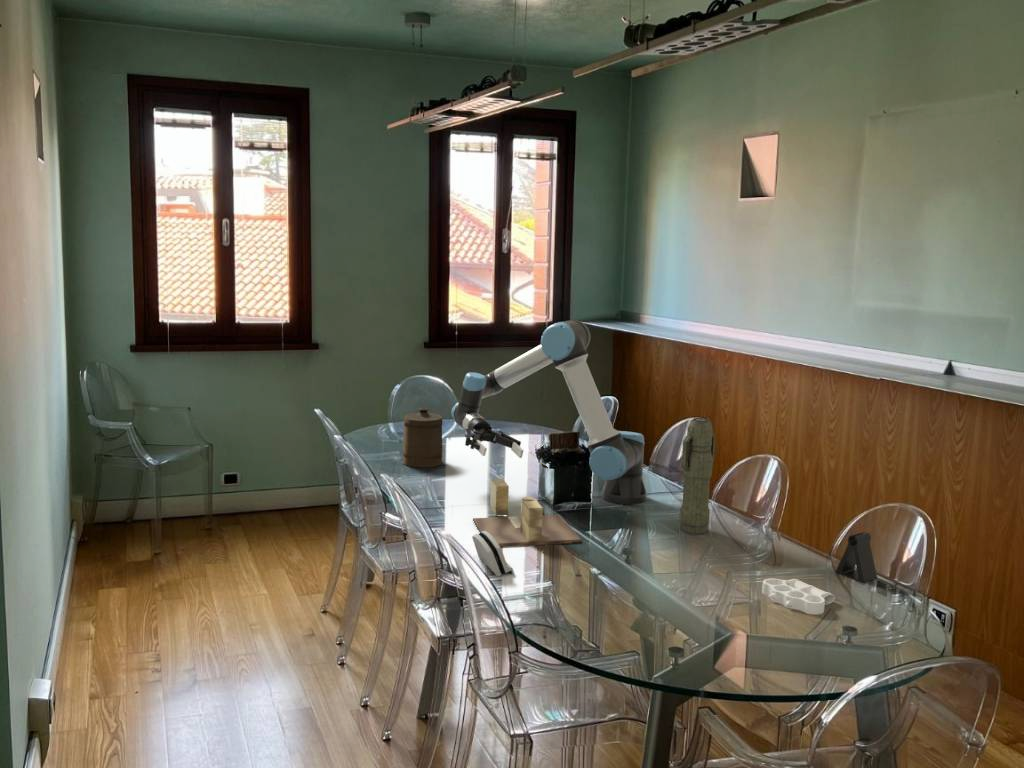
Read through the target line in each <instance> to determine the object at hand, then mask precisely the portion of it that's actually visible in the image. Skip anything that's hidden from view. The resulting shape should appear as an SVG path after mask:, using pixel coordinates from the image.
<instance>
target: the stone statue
mask: <svg viewBox="0 0 1024 768" xmlns="http://www.w3.org/2000/svg"><path fill="white" fill-rule="evenodd" d="M686 432H687V433H686V435H685V436H684V438H683V440H682V452H681V453H682V454H681V467H682V476H683V489H682V502H681V503H682V504H681V506H680V509H679V531H680V532H681V533H684V534H688V535H693V536H699V535H706V534H707V533H708V532H709V525H710V511H711V510H710V507H709V503H710V502H709V500H710V498H709V496H710V488H711V487H710V483H711V478H712V476H713V466H714V462H715V447H716V446H715V445H716V436H715V433H713V432H714V428H713V425H712V421H711V420H709V419H708V418H704V417H695V418H692V419H690V421H689V423H688V425H687V431H686Z"/></svg>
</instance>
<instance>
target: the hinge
mask: <svg viewBox="0 0 1024 768" xmlns="http://www.w3.org/2000/svg"><path fill="white" fill-rule="evenodd" d="M471 539H472V541H473V544H474V546H475V547H474V548H475V550H476V554H477V556H478V557H479V558H480V560H481V561H483V563H484V564H485V565H486V566H487V567H488V568H489V570H491V571H492V572H493V574H494V575H495V576H496V577H501V576H502V574H503V573H505V574H508V572H509V573H511V574H512V575H515V571H514V569H513V567H512V566H511V565H510V564H509V563H508V562H507V561H506V559H505V555H504V553H503V550H502V547H500V546H499V545H498V543H497V542H496V540H495V539H494V538H493V537H492V536H491V535H490V534H489V533H488V532H487V531H482V532H480V533H475V534H473V535H472V537H471Z"/></svg>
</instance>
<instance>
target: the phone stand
mask: <svg viewBox="0 0 1024 768" xmlns="http://www.w3.org/2000/svg"><path fill="white" fill-rule="evenodd" d="M871 539H872V537H871V534H870V533H869V532H865V531H862V532H859V533H855V534H852V535H849V536H848V538H847V546H846V548H845V550H844V553H843V554H842V556H841V559H840V561H839V563H838V565H837V567H836V570H835V574H837V575H840V576H842V577H845V578H847V579H850V580H853V581H856V582H859V583H861V584H862V583H863V584H865V583H867V582H871V581H873V580H877V579H878V574H877V570H876V567H875V561H874V556H873V552H872V548H871Z"/></svg>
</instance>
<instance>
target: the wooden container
mask: <svg viewBox="0 0 1024 768" xmlns="http://www.w3.org/2000/svg"><path fill="white" fill-rule="evenodd" d="M418 410H419V412H415V413H414V412H413V413H408V414H405V415H404V417H403V437H402V438H403V443H402V446H403V447H402V453H403V455H402V461H403V464H404V465H405V466H408V467H412V468H422V469H423V468H433V467H438V466H441V465H442V463H443V416H442V415H440V414H438V413H432V412H428V411H429V408H428V407H427V406H425V405H423V406H420V407H419V409H418Z"/></svg>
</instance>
